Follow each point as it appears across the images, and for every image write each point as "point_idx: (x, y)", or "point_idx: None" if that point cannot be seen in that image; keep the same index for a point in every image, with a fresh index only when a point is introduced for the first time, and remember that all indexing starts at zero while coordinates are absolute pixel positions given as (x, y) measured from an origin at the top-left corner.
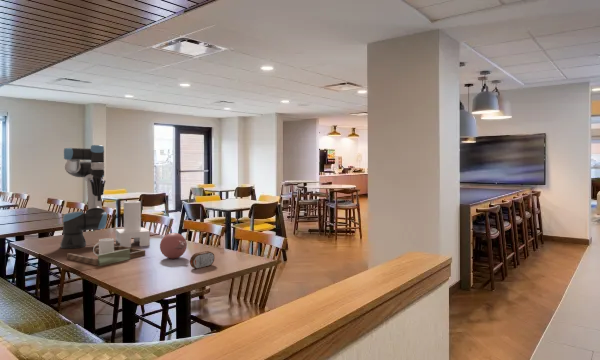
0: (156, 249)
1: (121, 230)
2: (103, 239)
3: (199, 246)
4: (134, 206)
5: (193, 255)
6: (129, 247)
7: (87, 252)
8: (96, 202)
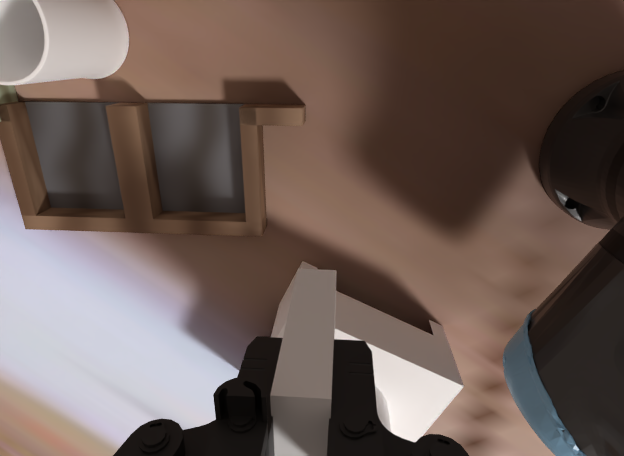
0: (124, 325)
1: (391, 380)
2: (47, 34)
3: (39, 443)
4: None
5: None
6: (159, 232)
7: (366, 88)
8: (295, 302)
